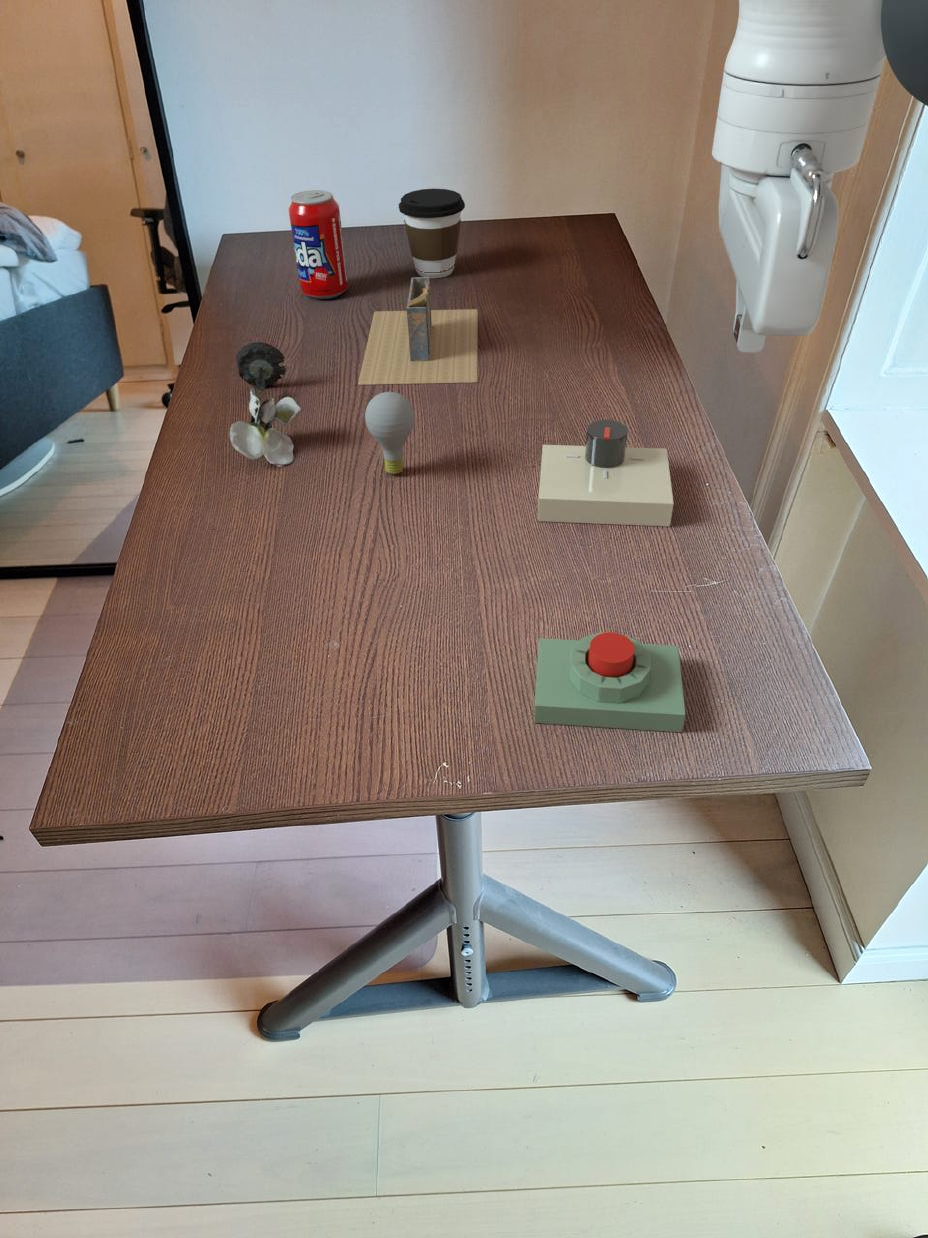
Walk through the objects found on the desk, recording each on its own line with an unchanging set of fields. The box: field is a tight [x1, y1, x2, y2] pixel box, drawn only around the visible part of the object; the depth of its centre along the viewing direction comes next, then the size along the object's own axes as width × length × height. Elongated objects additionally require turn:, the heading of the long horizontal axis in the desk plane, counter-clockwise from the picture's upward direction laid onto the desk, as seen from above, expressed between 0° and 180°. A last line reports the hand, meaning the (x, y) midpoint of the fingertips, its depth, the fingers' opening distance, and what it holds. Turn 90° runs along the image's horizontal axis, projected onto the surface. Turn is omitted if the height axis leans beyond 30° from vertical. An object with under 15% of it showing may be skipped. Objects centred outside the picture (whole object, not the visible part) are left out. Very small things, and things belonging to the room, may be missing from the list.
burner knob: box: [585, 419, 629, 468], centre depth 94 cm, size 4×4×4 cm
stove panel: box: [537, 444, 675, 528], centre depth 94 cm, size 14×13×3 cm
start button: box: [588, 631, 635, 678], centre depth 70 cm, size 4×4×2 cm
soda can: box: [288, 189, 349, 300], centre depth 136 cm, size 8×8×15 cm
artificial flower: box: [229, 341, 302, 468], centre depth 106 cm, size 9×22×10 cm, turn 6°
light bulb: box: [364, 391, 415, 475], centre depth 96 cm, size 6×6×10 cm
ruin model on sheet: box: [357, 276, 479, 386], centre depth 122 cm, size 25×16×10 cm, turn 179°
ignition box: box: [533, 631, 686, 733], centre depth 71 cm, size 12×8×4 cm, turn 84°
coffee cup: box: [398, 188, 466, 279], centre depth 143 cm, size 11×11×12 cm
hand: (746, 344), depth 61 cm, fingers closed
